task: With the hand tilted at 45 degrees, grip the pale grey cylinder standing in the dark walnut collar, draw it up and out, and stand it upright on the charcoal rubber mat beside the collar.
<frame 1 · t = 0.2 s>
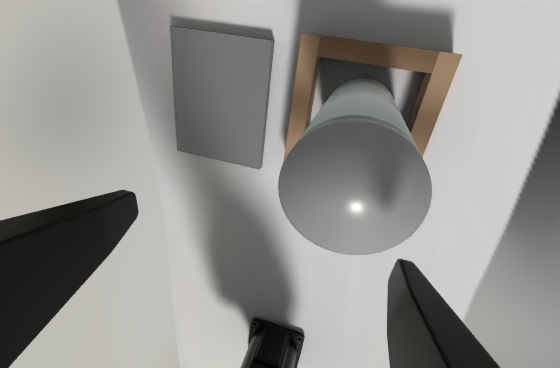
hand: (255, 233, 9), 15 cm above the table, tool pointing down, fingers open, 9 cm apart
pale grey cylinder: (355, 139, 15), in the walnut collar
walnut collar: (358, 113, 21), on the table
rubber mat: (221, 101, 23), on the table
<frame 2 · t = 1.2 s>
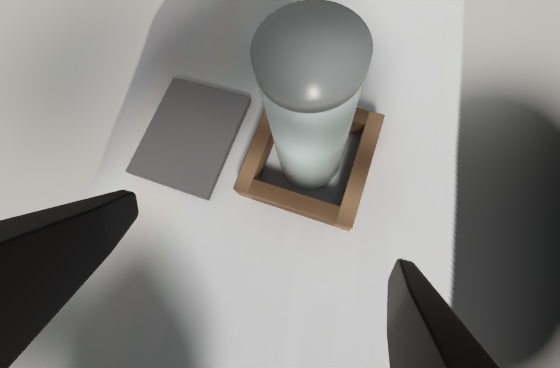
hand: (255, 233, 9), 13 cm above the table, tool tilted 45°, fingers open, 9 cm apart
pale grey cylinder: (309, 123, 18), in the walnut collar
walnut collar: (309, 160, 24), on the table
rubber mat: (191, 136, 26), on the table
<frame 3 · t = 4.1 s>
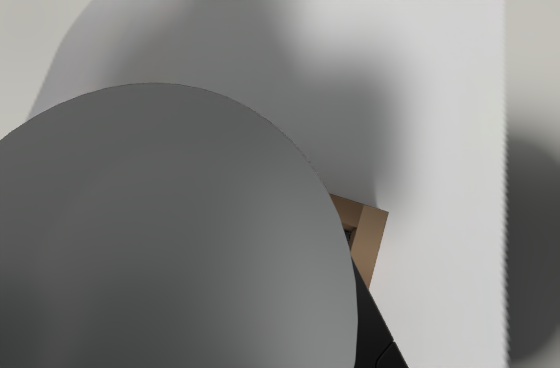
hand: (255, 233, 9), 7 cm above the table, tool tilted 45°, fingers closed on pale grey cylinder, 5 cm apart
pale grey cylinder: (244, 276, 9), in the walnut collar, touching gripper
walnut collar: (270, 272, 15), on the table
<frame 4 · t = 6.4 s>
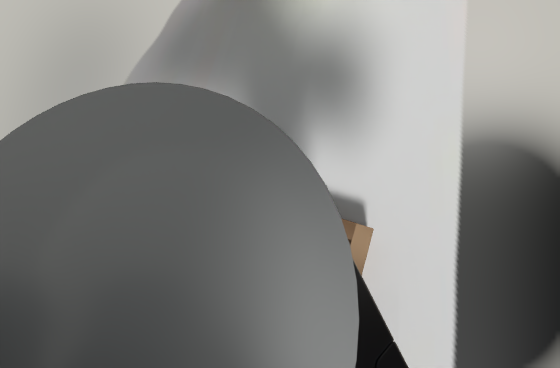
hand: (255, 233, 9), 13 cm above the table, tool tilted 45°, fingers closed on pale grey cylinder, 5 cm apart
pale grey cylinder: (244, 275, 9), point 13 cm above the table, touching gripper
walnut collar: (290, 271, 21), on the table
when the fingers open (9 cm above the table, at t = 8.7 s): pale grey cylinder drops 1 cm, resting on rubber mat.
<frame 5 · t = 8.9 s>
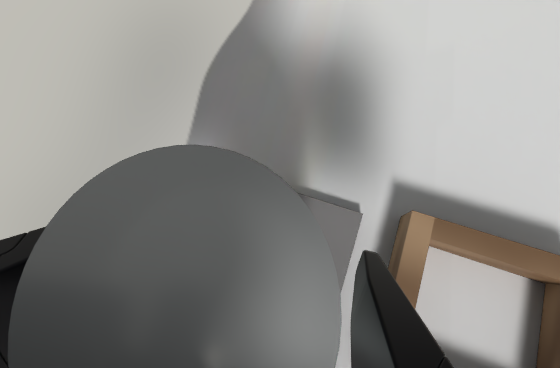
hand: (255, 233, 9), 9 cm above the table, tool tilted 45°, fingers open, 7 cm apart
pale grey cylinder: (252, 278, 10), on the rubber mat, point 7 cm above the table
walnut collar: (467, 324, 15), on the table
rubber mat: (274, 271, 17), on the table
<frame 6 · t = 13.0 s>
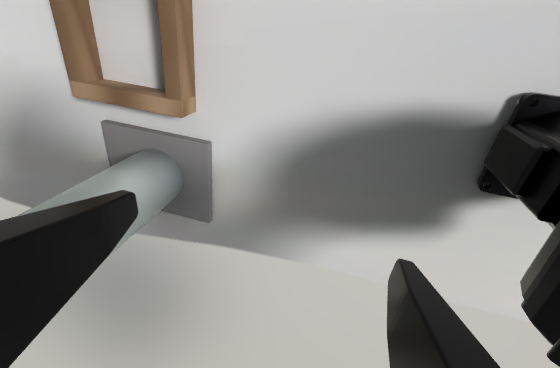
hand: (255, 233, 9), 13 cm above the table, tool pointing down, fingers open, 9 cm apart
pale grey cylinder: (101, 213, 20), on the rubber mat, point 7 cm above the table
walnut collar: (134, 36, 21), on the table
rubber mat: (161, 171, 26), on the table
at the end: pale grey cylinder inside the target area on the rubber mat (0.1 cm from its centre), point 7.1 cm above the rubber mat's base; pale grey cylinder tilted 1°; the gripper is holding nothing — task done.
